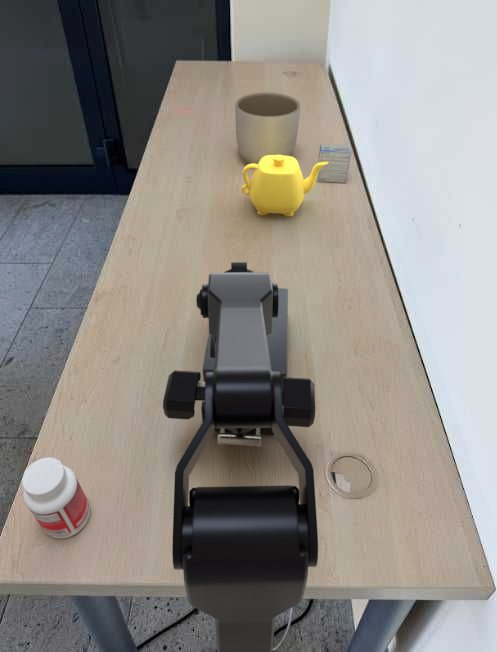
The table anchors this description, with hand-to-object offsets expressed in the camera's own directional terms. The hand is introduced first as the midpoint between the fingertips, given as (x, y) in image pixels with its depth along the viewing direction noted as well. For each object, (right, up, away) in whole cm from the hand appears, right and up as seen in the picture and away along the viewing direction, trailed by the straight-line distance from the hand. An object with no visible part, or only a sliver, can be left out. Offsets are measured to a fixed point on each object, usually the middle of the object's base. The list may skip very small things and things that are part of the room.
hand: (240, 432), depth 68 cm
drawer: (+1, +4, +10) cm, 10 cm away
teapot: (+9, +44, +52) cm, 69 cm away
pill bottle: (-23, -10, -4) cm, 25 cm away
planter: (+6, +62, +70) cm, 94 cm away
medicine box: (+23, +54, +62) cm, 86 cm away
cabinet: (+1, +10, +17) cm, 19 cm away
